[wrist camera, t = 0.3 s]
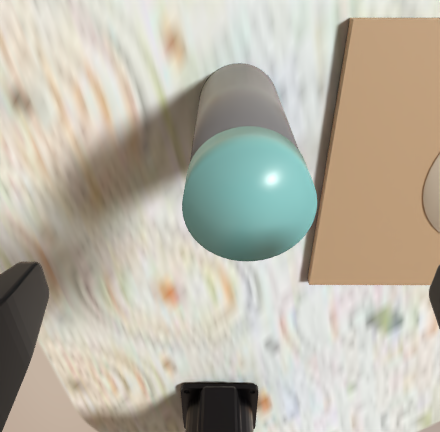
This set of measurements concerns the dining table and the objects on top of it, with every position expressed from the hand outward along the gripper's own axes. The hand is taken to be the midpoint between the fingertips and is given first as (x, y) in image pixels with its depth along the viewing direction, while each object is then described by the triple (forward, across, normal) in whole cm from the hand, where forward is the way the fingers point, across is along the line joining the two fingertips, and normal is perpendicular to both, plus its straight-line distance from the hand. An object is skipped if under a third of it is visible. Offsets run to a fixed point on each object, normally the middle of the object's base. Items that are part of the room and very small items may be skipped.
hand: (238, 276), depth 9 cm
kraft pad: (+14, -12, +4) cm, 19 cm away
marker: (+13, 0, 0) cm, 13 cm away
